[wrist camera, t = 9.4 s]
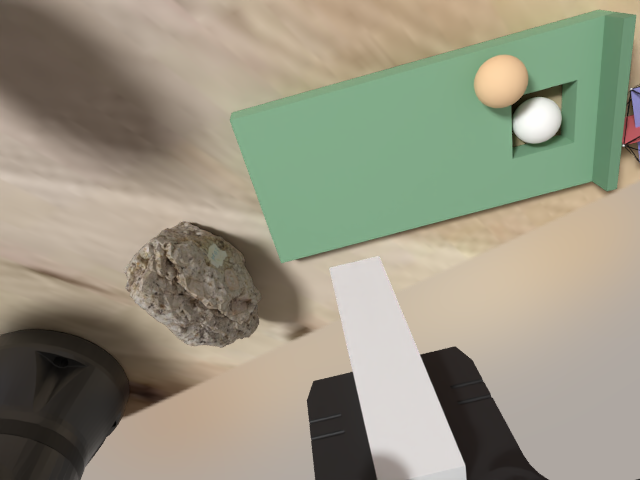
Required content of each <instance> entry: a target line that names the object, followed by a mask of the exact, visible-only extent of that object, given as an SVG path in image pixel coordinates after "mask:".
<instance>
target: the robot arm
mask: <svg viewBox="0 0 640 480" xmlns="http://www.w3.org/2000/svg"><path fill="white" fill-rule="evenodd" d="M329 269H330V273H331V278H332V282H333V287H334V291H335V295H336V300H337V304H338V309H339V313H340V317H341V322H342V326H343V331H344V335H345V339H346V344H347V348H348V353H349V357H350V361H351V366H352V370H353V372H350V373H346V374H342V375H338V376H333V377H329V378H325V379H321V380H316V381H313V384H312V387H311V390H310V393H309V396H308V399H307V405H308V415H309V422H310V434H311V440H312V441H311V443H312V453H313V462H314V472H315V480H548V479H547V478H545V477H544V476H542V475H541V474H539V473H538V472H537V471H536V470H535V469H534V468H533V467H532V466H531V465H530V464H529V462H528V461H527V460H526V458H525V457H524V455H523V453H522V451H521V450H520V448H519V446H518V444H517V442H516V440H515V439H514V437H513V435H512V433H511V431H510V429H509V427H508V426H507V424H506V422H505V420H504V418H503V416H502V414H501V413H500V411H499V409H498V407H497V406H496V403H495V401H494V400H493V398H492V397H491V395H490V392H489V390H488V388H487V387H486V385H485V383H484V382H483V380H482V377H481V375H480V374H479V372H478V370H477V368H476V366H475V364H474V362H473V361H472V360H471V359H470V358H469V357H468V356H466V355H465V354H464V353H463V352H462V351H460V350H459V349H458V348H457V347H450V348H447V349H442V350H438V351H434V352H429V353H426V354H421V355H420V354H419V351H418V349H417V347H416V344H415V342H414V339H413V337H412V334H411V332H410V330H409V327H408V325H407V322H406V320H405V317H404V315H403V313H402V310H401V308H400V305H399V303H398V300H397V298H396V295H395V293H394V291H393V288H392V286H391V283H390V281H389V278H388V276H387V274H386V271H385V269H384V266H383V264H382V261H381V259H380V256H376V257H372V258H368V259H364V260H360V261H356V262H351V263H347V264H343V265H339V266H335V267H331V268H329ZM128 398H129V382H128V379H127V376H126V374H125V372H124V370H123V369H122V367H121V366H120V365H119V363H118V362H117V361H116V360H115V359H114V358H113V357H112V356H111V355H109V354H108V353H107V352H106V351H104V350H103V349H101V348H100V347H98V346H96V345H94V344H93V343H91V342H89V341H86V340H84V339H81V338H79V337H76V336H73V335H69V334H66V333H61V332H56V331H48V330H23V331H16V332H11V333H7V334H4V335H1V336H0V480H80V479H81V477H82V474H83V472H84V469H85V467H86V465H87V464H88V463H89V461H90V460H91V459H92V458H93V456H94V455H95V454H96V452H97V451H98V450H99V448H100V447H101V445H102V444H103V442H104V441H105V439H106V437H107V436H108V435H110V434H111V433H112V431H113V430H114V429H115V428H116V427H117V425H118V424H119V422H120V420H121V418H122V416H123V413H124V410H125V407H126V404H127V401H128ZM637 480H640V479H637Z"/></svg>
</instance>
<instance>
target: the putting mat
mask: <svg viewBox="0 0 640 480" xmlns="http://www.w3.org/2000/svg"><path fill="white" fill-rule="evenodd" d="M635 22H636V15H633V14H625V13H618V12H611V11H604V10H596V11H593V12H589V13H586V14H582V15H578V16H575V17H571V18H568V19H564V20H561V21H557V22H553V23H550V24H546V25H543V26H539V27H536V28H532V29H529V30H525V31H521V32H518V33H514V34H511V35H507V36H504V37H500V38H497V39H493V40H489V41H486V42H482V43H479V44H475V45H472V46H468V47H464V48H461V49H457V50H454V51H450V52H447V53H443V54H440V55H436V56H432V57H429V58H425V59H422V60H418V61H415V62H411V63H408V64H404V65H400V66H397V67H393V68H390V69H386V70H383V71H379V72H375V73H372V74H368V75H365V76H361V77H358V78H354V79H351V80H347V81H343V82H340V83H336V84H333V85H329V86H326V87H322V88H318V89H315V90H311V91H308V92H304V93H301V94H297V95H294V96H290V97H286V98H283V99H279V100H276V101H272V102H269V103H265V104H262V105H258V106H254V107H251V108H247V109H244V110H240V111H237V112H233V113H232V114H231V118H230V122H231V125H232V128H233V130H234V133H235V136H236V139H237V142H238V144H239V147H240V150H241V153H242V155H243V158H244V161H245V164H246V166H247V169H248V172H249V175H250V178H251V180H252V183H253V186H254V189H255V191H256V194H257V197H258V200H259V202H260V205H261V208H262V211H263V214H264V216H265V219H266V222H267V225H268V227H269V230H270V233H271V236H272V238H273V241H274V244H275V247H276V250H277V252H278V255H279V258H280V261H281V263H284V262H288V261H292V260H295V259H299V258H303V257H307V256H311V255H314V254H318V253H322V252H326V251H330V250H333V249H337V248H341V247H345V246H349V245H352V244H356V243H360V242H364V241H368V240H371V239H375V238H379V237H383V236H387V235H390V234H394V233H398V232H402V231H405V230H409V229H413V228H417V227H421V226H424V225H428V224H432V223H436V222H440V221H443V220H447V219H451V218H455V217H459V216H462V215H466V214H470V213H474V212H478V211H481V210H485V209H489V208H493V207H497V206H500V205H504V204H508V203H512V202H516V201H519V200H523V199H527V198H531V197H535V196H538V195H542V194H546V193H550V192H554V191H557V190H561V189H565V188H569V187H572V186H576V185H580V184H584V183H588V182H591V181H592V182H594V183H595V184H597V185H598V186H600V187H601V188H603V189H604V190H605V191H611V190H614V189H617V183H618V174H619V165H620V156H621V147H622V138H623V129H624V120H625V111H626V102H627V93H628V84H629V75H630V67H631V58H632V49H633V40H634V31H635ZM498 55H511V56H514V57H516V58H518V59H519V60H520V61H522V63H523V64H524V65H525V67H526V69H527V72H528V85H527V88H526V90H525V92H524V94H528V93H532V92H535V91H539V90H543V89H546V88H550V87H553V86H557V85H561V84H562V109H561V114H562V121H561V135H557V136H554V137H551V138H550V139H549V140H547V141H545V142H542V143H536V144H532V143H528V144H524V145H520V146H517V147H513V148H512V114H511V105H510V106H508V107H504V108H492V107H489V106H486V105H485V104H483V103H482V102H481V101H480V100H479V99H478V97H477V96H476V93H475V90H474V79H475V76H476V73H477V71H478V69H479V68H480V67H481V65H482V64H483V63H484V62H486V61H487V60H488V59H490V58H492V57H495V56H498ZM524 94H523V95H524Z"/></svg>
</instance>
